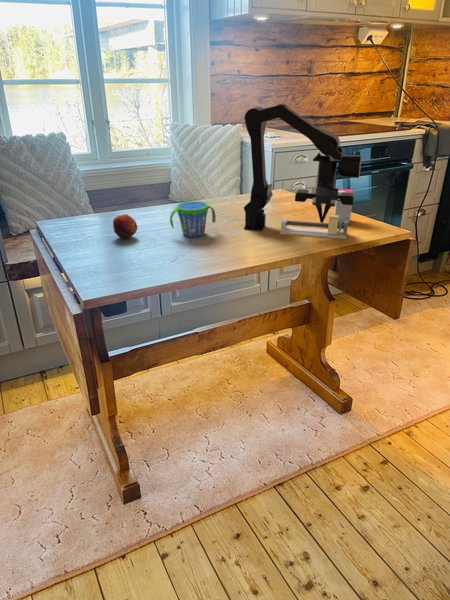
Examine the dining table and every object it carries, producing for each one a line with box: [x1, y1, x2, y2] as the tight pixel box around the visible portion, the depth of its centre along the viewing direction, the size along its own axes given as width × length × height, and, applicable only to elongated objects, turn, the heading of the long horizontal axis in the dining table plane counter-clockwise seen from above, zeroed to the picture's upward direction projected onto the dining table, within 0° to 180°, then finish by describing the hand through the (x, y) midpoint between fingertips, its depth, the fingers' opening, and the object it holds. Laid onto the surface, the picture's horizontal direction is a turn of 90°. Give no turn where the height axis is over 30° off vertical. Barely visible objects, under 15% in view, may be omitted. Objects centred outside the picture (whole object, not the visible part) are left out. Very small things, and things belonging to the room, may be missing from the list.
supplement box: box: [333, 188, 355, 225], centre depth 169 cm, size 6×6×12 cm
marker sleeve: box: [327, 214, 339, 235], centre depth 156 cm, size 3×5×5 cm, turn 166°
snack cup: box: [169, 200, 217, 238], centre depth 157 cm, size 16×10×10 cm
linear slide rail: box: [280, 218, 349, 240], centre depth 158 cm, size 22×6×5 cm, turn 76°
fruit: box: [112, 213, 138, 240], centre depth 154 cm, size 8×8×8 cm
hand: (321, 222), depth 157 cm, fingers closed
